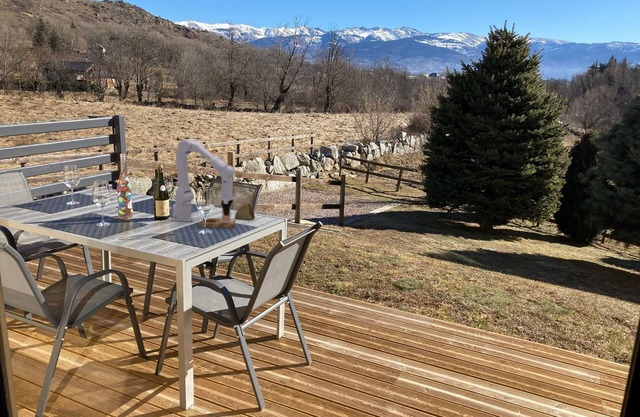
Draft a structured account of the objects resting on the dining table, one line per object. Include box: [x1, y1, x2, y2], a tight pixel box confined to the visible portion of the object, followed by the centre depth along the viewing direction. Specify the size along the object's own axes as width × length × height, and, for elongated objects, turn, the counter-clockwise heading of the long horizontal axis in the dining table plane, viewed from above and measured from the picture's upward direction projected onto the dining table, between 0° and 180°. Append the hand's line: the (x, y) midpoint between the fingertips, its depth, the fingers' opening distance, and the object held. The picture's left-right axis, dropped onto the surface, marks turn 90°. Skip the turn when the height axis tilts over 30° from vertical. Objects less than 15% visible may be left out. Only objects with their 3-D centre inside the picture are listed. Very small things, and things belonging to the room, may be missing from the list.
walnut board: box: [199, 217, 236, 229], centre depth 251 cm, size 17×12×2 cm
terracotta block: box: [221, 205, 232, 221], centre depth 251 cm, size 4×4×7 cm
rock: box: [234, 202, 256, 220], centre depth 267 cm, size 11×9×10 cm
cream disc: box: [220, 218, 234, 223], centre depth 251 cm, size 7×7×1 cm
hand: (226, 214), depth 251 cm, fingers closed on terracotta block, 4 cm apart
